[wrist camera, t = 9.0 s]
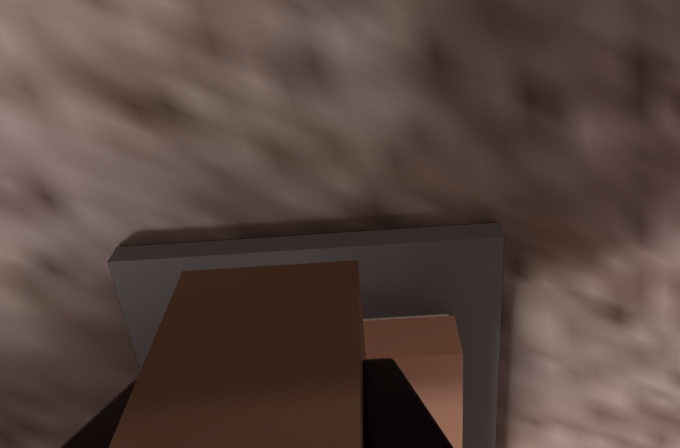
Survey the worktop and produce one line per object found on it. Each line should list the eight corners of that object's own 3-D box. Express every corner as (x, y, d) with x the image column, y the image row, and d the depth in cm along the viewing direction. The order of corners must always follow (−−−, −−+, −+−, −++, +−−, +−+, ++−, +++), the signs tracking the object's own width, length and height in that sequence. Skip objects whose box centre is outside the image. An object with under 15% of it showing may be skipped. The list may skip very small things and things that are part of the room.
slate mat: (196, 519, 18) (191, 538, 18) (117, 247, 14) (107, 262, 13) (488, 507, 18) (491, 527, 17) (498, 222, 13) (504, 237, 13)
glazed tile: (173, 326, 14) (220, 510, 17) (155, 370, 13) (210, 560, 16) (453, 309, 14) (453, 500, 17) (463, 353, 12) (461, 551, 15)
